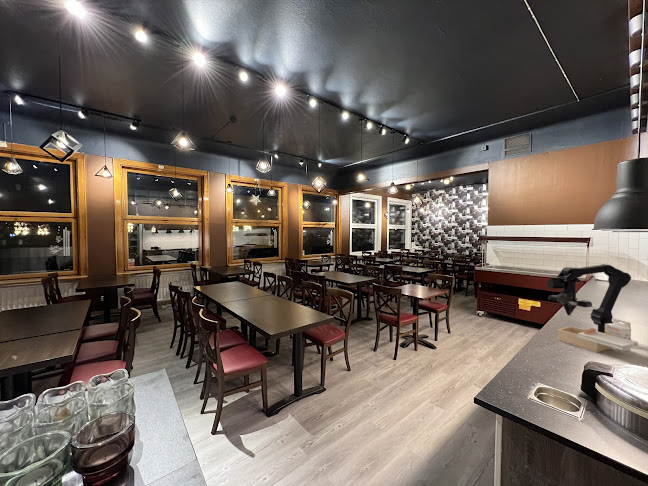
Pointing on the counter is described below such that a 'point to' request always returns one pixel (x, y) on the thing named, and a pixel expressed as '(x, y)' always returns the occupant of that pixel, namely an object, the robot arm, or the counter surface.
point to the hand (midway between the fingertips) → (568, 315)
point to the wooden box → (579, 339)
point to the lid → (605, 339)
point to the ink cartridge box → (619, 331)
